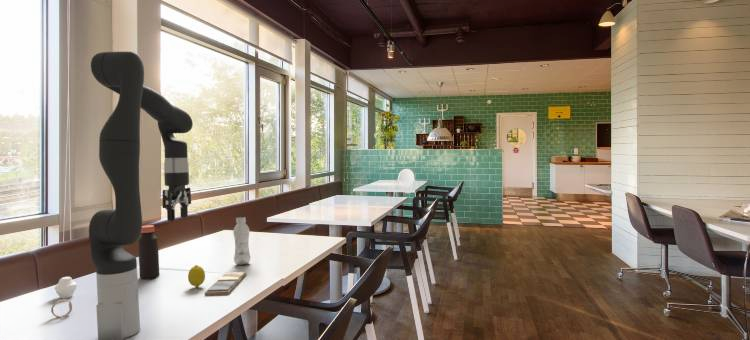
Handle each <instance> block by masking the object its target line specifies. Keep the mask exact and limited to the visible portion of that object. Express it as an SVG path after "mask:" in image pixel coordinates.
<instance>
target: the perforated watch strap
mask: <svg viewBox="0 0 750 340" xmlns="http://www.w3.org/2000/svg"><path fill="white" fill-rule="evenodd" d="M64 301H66V302H69V303H68V308H69V310H68V311H67V312H66V313H65V314H63V315H58V314H55V313H54V307H55V306H56V305H57V304H58V303H60V302H64ZM72 311H73V304H72V302H71V301H70V300H68V299H67V298H62V299H58V300H57V301H56V302H54V303H53V304H52V306H51V309H50V313H52V315H53V316H54V317H56V318H64V317H66V316H68V315H69V314H71V312H72Z"/></svg>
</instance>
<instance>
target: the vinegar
mask: <svg viewBox="0 0 750 340" xmlns="http://www.w3.org/2000/svg"><path fill="white" fill-rule="evenodd" d="M137 249H138V251H137V252H138V266H139V278H140V279H141V280H152V279H156V278H158V277H159V276H160V262H159V261H160V259H159V258H160V257H159V239H158V237H157V236H156V235H155V225H153V224H151V225H149V224H147V225H142V230H141V234H140V236H139V238H138V239H137Z"/></svg>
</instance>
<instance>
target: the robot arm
mask: <svg viewBox="0 0 750 340" xmlns="http://www.w3.org/2000/svg"><path fill="white" fill-rule="evenodd" d="M90 70H91V73H92V75H93V78H95V80H96V81H97V82H98V83H99V84H100V85H102V86H104V87H106V88H107V89H109V90H111V91H113V92H114V93H116V94H118V95H119V96H118V102H117V104H116V106H115V108H114V110H113V111H112V113H111V115H110V116H109V117H108V119H107V120H106V121H105V123H104V125H103V126H102V129H101V131H100V133H99V140H98V141H99V142H98V146H99V148H98V158H99V164H100V166H101V168H102V170H103V171H104V173H105V175H106V176H107V178H108V179H109V182H110V185H111V186H112V188H113V192H114V198H115V209H101V210H99V211H97V212H95V214H93V215H92V217H91V219H90V221H89V225H88V239H89V247H90V256H91V261H92V263H93V266H94V267H95V274H96V275H95V276H96V291H97V292H96V293H97V296H96V297H97V304H96V307H95V308H96V321H97V323H96V324H97V339H98V340H125V339H127V338H129V337H132V336H133V335H136V334H137V333H139V332H140V330H141V320H140V318H141V317H140V300H139V299H140V298H139V283H138V282H139V281H138V263H137V262H138V261H137V257H136V256H135V255H133V254H131V253H130V252H128V251H126V250H125V248H124V247H123V246H130V245H132V244H135V243H136V242H138V239H139V238H140V237H141V230H142V226H143V216H142V215H143V213H142V206H141V205H142V204H141V193H140V155H141V152H140V151H141V143H140V142H141V139H140V138H141V134H140V133H141V131H140V130H141V109H142V110H143V111H144V112H145V113H146V114H148V115H149V116H150V117H151V118H152V119H154V120H155V121H157V127H158V130H159V133H160V136H161V139H162V143H163V147H164V163H163V173H164V174H163V177H164V186H166V187H168V189H162V206H161V207H162V208H163V209H165V210H166V214H167V216H166V219H167V222H174V221H175V220H176V211H175V210H176V205H177V204H179V207H180V218H183V219H184V218H188V217H189V213H188V211H189V210H188V207H189V205H192V193H191V192H192V191H191V187H190V186H189V187H186V186H188V185H190V173H189V172H190V171H189V170H190V169H189V167H190V166H189V156H188V144H187V141H184V140H180V139H176V137H175V135H174V134H186V133H189V132H190V131H191V130H192V128H193V124H194V123H193V118H192V117H191V116H190V114H189V113H188V112H186V111H185V110H183V109H182V108H180V107H178V106H176V105H174V104H172V103H171V102H170V101H168V99H167V98H166V97H165V96H164V95H162V94H161V93H160V92H158V91H156V90H155V89H152V88H150V87H149V86H146V85H144V82H145V68H144V63H143V60H142V58H141V56H140V55H139V54H138V53H136V52H135V51H102V52H98V53H96V54H94V55H93V57H92V58H91V61H90Z"/></svg>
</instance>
